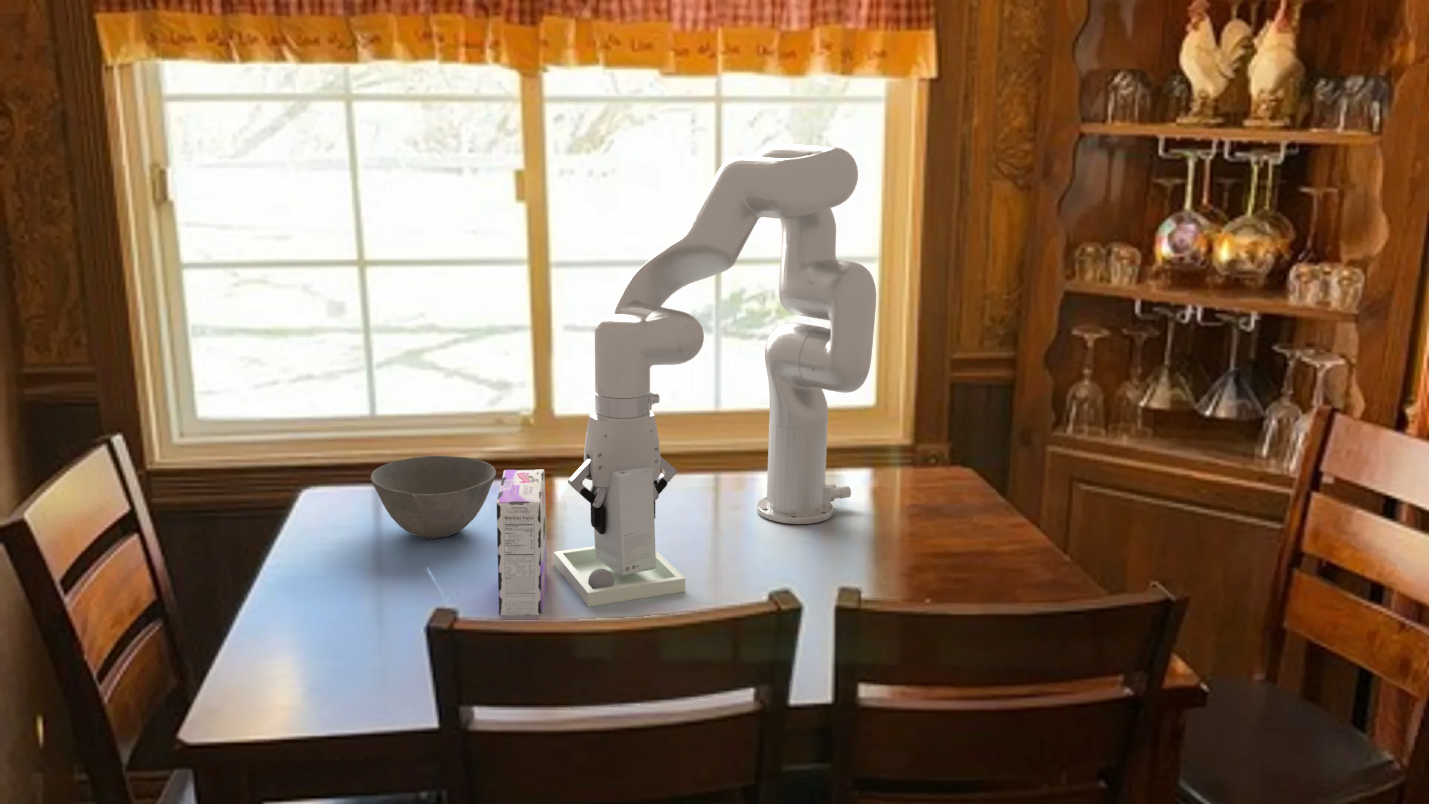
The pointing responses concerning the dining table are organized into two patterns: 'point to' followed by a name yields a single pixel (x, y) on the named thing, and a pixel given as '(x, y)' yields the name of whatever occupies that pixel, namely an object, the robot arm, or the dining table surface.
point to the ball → (600, 579)
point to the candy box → (521, 542)
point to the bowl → (433, 492)
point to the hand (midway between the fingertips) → (623, 526)
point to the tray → (616, 578)
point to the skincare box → (628, 523)
